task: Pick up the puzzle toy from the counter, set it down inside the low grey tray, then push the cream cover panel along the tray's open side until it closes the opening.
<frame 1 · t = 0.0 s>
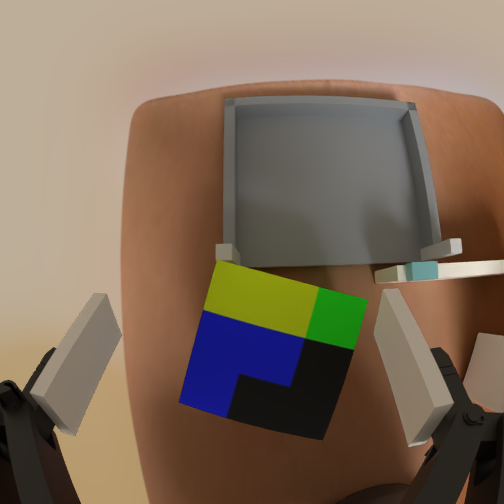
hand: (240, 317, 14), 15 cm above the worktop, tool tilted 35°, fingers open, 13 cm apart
cover panel: (468, 270, 25), point 4 cm above the worktop, slide at 0.0 cm
puzzle toy: (272, 336, 29), on the worktop
milk carton: (487, 367, 27), on the worktop
grey tray: (328, 180, 31), on the worktop
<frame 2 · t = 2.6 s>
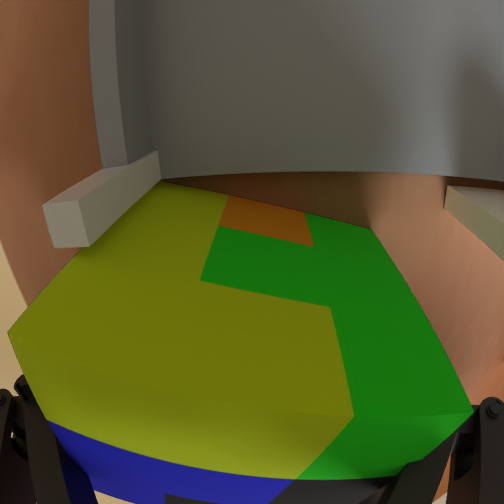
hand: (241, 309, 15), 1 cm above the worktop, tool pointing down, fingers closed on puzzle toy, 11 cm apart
puzzle toy: (243, 293, 16), on the worktop, touching gripper
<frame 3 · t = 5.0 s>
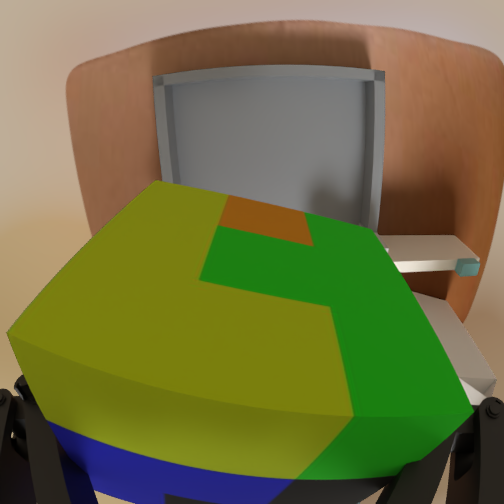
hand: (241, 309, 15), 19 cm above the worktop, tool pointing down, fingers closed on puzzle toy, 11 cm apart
cover panel: (400, 255, 30), point 4 cm above the worktop, slide at 0.0 cm
puzzle toy: (243, 293, 16), point 17 cm above the worktop, touching gripper
milk carton: (414, 315, 38), on the worktop
grey tray: (271, 149, 29), on the worktop
when the fingers open (5 cm above the worktop, at t = 7.5 s): puzzle toy drops 2 cm, resting on grey tray.
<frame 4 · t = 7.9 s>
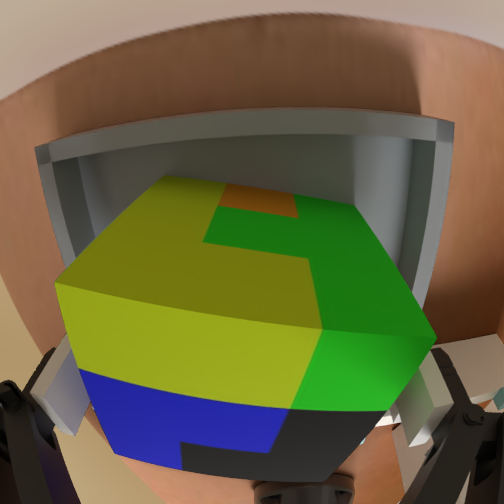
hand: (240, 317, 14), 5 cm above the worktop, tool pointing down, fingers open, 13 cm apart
cover panel: (428, 385, 19), point 4 cm above the worktop, slide at 0.0 cm
puzzle toy: (246, 270, 18), point 1 cm above the worktop, touching grey tray
milk carton: (431, 412, 27), on the worktop
grey tray: (246, 249, 19), on the worktop
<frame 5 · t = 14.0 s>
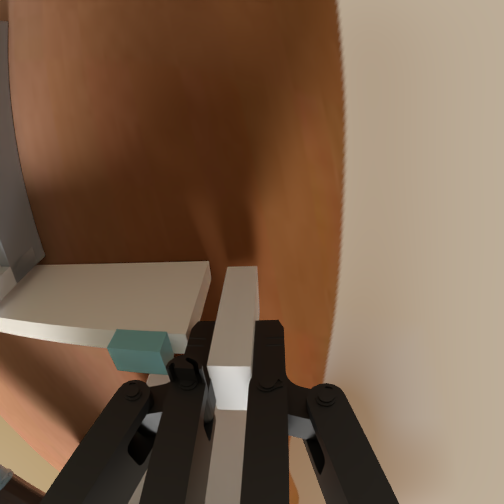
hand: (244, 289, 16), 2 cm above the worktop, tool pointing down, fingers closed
cover panel: (52, 304, 16), point 4 cm above the worktop, slide at 0.4 cm, touching gripper
milk carton: (198, 387, 24), on the worktop
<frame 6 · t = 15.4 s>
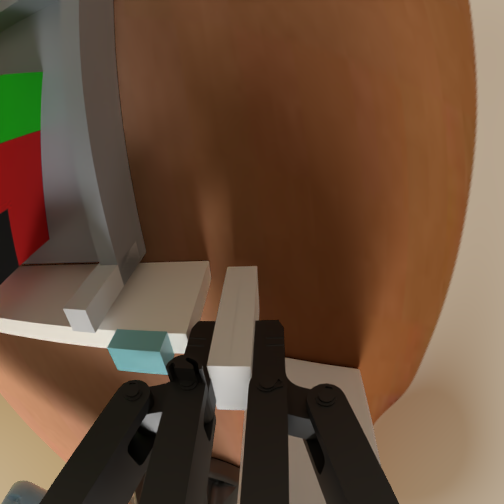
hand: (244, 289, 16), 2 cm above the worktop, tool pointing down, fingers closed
cover panel: (53, 304, 16), point 4 cm above the worktop, slide at 8.4 cm, touching gripper
milk carton: (299, 387, 23), on the worktop
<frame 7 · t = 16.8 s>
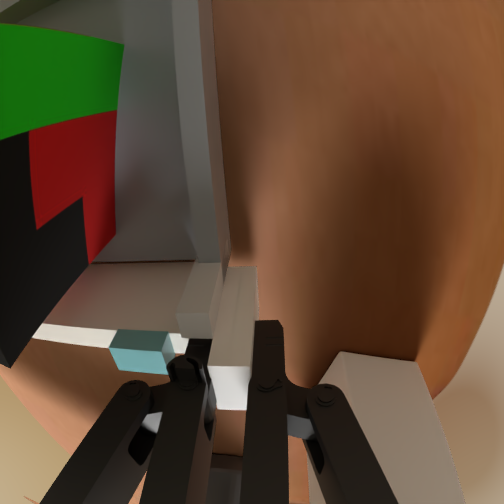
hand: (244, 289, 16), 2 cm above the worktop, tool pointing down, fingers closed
cover panel: (53, 304, 16), point 4 cm above the worktop, slide at 13.3 cm
puzzle toy: (42, 140, 14), point 1 cm above the worktop, touching grey tray
milk carton: (358, 382, 23), on the worktop
grey tray: (48, 123, 14), on the worktop
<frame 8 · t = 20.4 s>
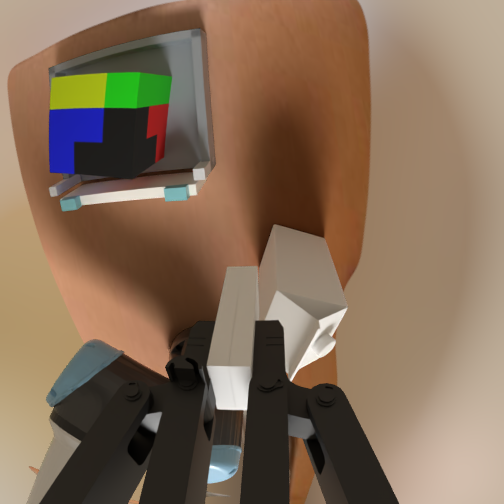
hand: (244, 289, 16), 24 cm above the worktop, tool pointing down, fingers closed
cover panel: (128, 189, 36), point 4 cm above the worktop, slide at 13.3 cm
puzzle toy: (130, 115, 34), point 1 cm above the worktop, touching grey tray
milk carton: (291, 252, 43), on the worktop
grey tray: (131, 107, 34), on the worktop
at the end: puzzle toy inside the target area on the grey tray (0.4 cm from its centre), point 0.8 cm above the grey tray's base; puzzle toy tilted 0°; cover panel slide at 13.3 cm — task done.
